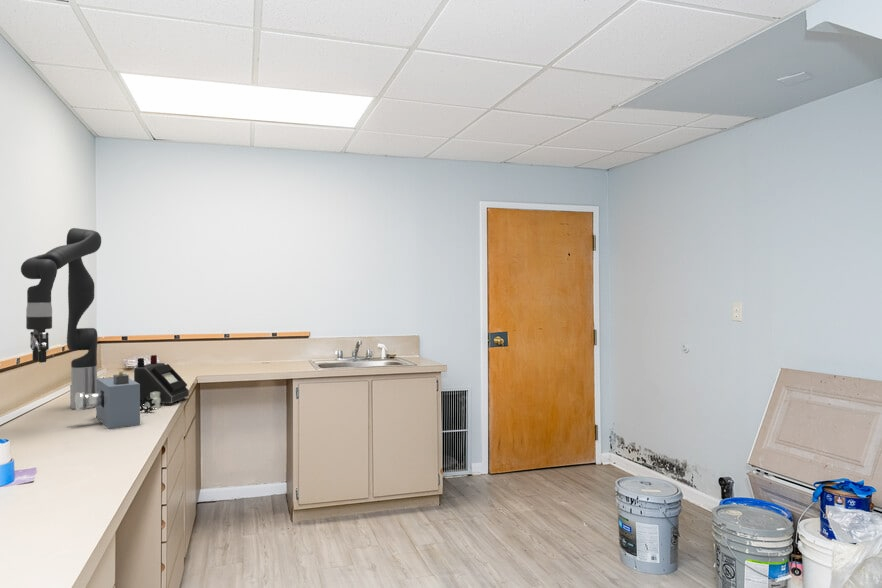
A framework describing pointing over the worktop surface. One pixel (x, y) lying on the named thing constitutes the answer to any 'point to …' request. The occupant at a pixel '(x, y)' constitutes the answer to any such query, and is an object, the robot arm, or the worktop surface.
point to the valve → (151, 402)
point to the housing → (118, 403)
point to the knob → (88, 400)
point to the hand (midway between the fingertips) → (39, 361)
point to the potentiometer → (121, 378)
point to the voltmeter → (159, 381)
